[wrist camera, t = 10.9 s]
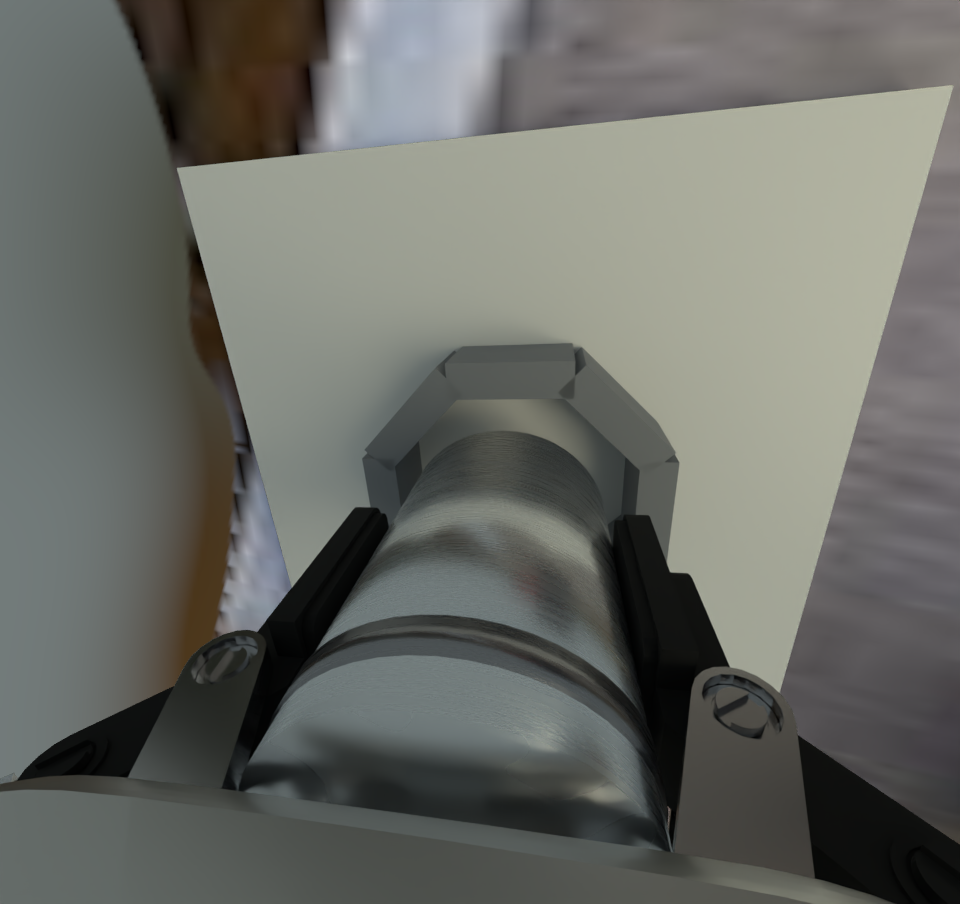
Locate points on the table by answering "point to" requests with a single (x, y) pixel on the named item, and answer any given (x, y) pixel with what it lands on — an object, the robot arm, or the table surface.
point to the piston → (480, 663)
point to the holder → (581, 322)
